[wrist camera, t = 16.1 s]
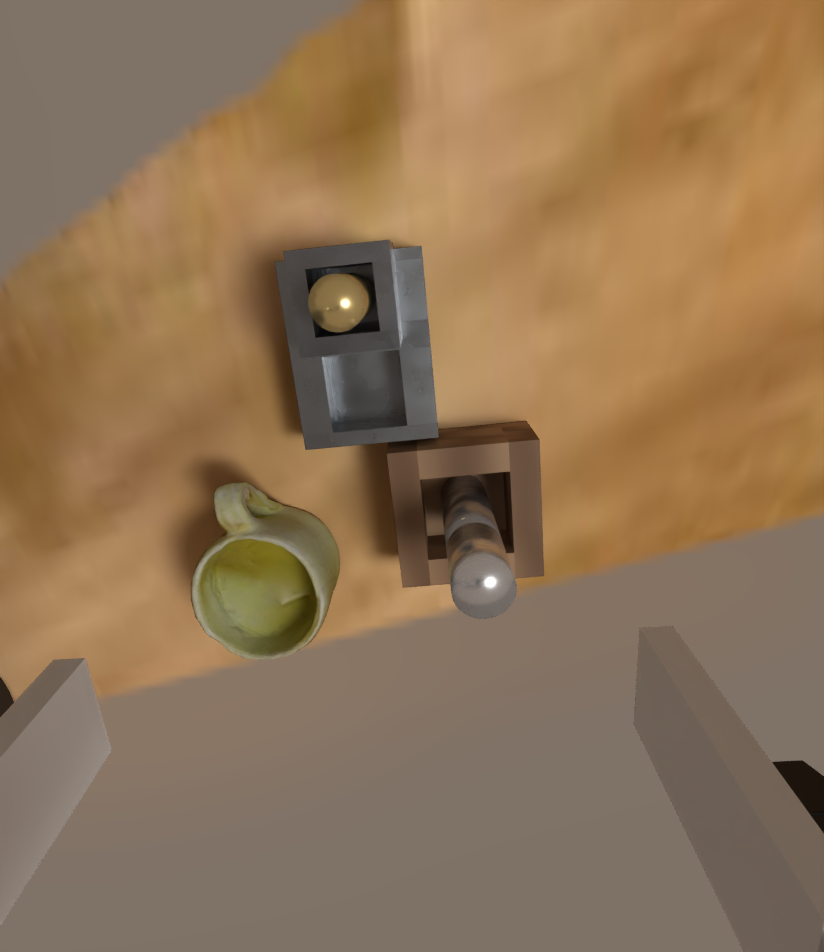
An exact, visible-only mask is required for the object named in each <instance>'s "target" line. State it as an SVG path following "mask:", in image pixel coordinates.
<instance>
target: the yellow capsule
mask: <svg viewBox="0 0 824 952" xmlns="http://www.w3.org/2000/svg"><path fill="white" fill-rule="evenodd" d="M374 301H375V294H374V290H373V287H372V285H371V284H370V282H369V281H368V280H367V279H366V278H365V277H363V276H361V275H359V274H356V273H341V274H329V275H326V276H324V277H322V278H320V279H319V280H318V281H317V282H316V283H315V284H314V285H313V287H312V289H311V291H310V294H309V300H308V304H309V310H310V313H311V315H312V317H313V319H314V320H315V322H316V323H317V324H318V325H319V326H321V327H322V328H324V329H326V330H328V331H331V332H344V331H347V330H350V329H351V328H353V327H354V326H355V325H357V324H358V323H359V322H360V321H361V320H362V319H363V318H365V317H366V316H367V315H368V314H369V313H370V312H371V310H372V308H373V305H374Z"/></svg>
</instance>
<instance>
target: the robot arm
mask: <svg viewBox="0 0 824 952" xmlns="http://www.w3.org/2000/svg"><path fill="white" fill-rule="evenodd" d="M634 726H635V728H636V730H637V732H638V734H639V736H640V738H641V740H642V742H643V744H644V746H645V749H646V751H647V753H648V755H649V757H650V759H651V761H652V763H653V765H654V767H655V769H656V771H657V773H658V776H659V778H660V779H661V782H662V784H663V786H664V788H665V790H666V792H667V794H668V796H669V798H670V800H671V802H672V805H673V806H674V809H675V811H676V813H677V815H678V817H679V819H680V821H681V823H682V825H683V827H684V829H685V831H686V833H687V836H688V837H689V840H690V842H691V844H692V846H693V848H694V850H695V852H696V854H697V856H698V858H699V860H700V862H701V864H702V867H703V869H704V871H705V873H706V875H707V877H708V879H709V881H710V883H711V885H712V887H713V889H714V892H715V894H716V896H717V898H718V900H719V902H720V904H721V906H722V908H723V910H724V912H725V914H726V916H727V919H728V920H729V923H730V925H731V927H732V929H733V931H734V933H735V935H736V937H737V939H738V941H739V943H740V945H741V948H742V949H743V952H824V776H823V775H821V774H820V773H818V772H817V771H816V770H815V769H813V768H812V767H811V766H809V765H808V764H806V763H805V762H804V761H782V762H771V760H770V759H769V758H768V756H767V755H766V753H765V752H764V751H763V749H762V748H761V746H760V745H759V744H758V742H757V741H756V740H755V738H754V737H753V735H752V734H751V733H750V731H749V730H748V729H747V727H746V726H745V724H744V723H743V722H742V720H741V719H740V718H739V716H738V715H737V713H736V712H735V711H734V709H733V708H732V707H731V705H730V704H729V702H728V701H727V700H726V698H725V697H724V696H723V694H722V693H721V691H720V690H719V689H718V687H717V686H716V685H715V683H714V682H713V680H712V679H711V678H710V676H709V675H708V674H707V672H706V671H705V669H704V668H703V667H702V665H701V664H700V663H699V661H698V660H697V658H696V657H695V656H694V654H693V653H692V651H691V650H690V649H689V647H688V646H687V645H686V643H685V642H684V640H683V639H682V638H681V636H680V635H679V634H678V632H677V631H676V629H674V627H673V626H663V627H662V626H661V627H643V628H640V631H639V647H638V662H637V678H636V692H635V707H634ZM111 751H112V749H111V746H110V742H109V739H108V735H107V732H106V729H105V725H104V722H103V718H102V715H101V711H100V708H99V704H98V701H97V697H96V694H95V690H94V687H93V683H92V680H91V676H90V673H89V669H88V666H87V663H86V659H85V658H79V659H60V660H53V661H52V662H51V663H50V664H49V665H48V667H47V668H46V669H45V670H44V671H43V672H42V673H41V674H40V675H39V676H38V677H37V678H36V679H35V681H34V682H33V683H32V684H31V685H30V686H29V687H28V688H27V689H26V690H25V691H24V692H23V693H22V695H21V696H20V697H19V698H18V699H17V700H16V701H15V702H14V703H13V700H12V698H11V695H10V693H9V691H8V689H7V688H6V686H5V685H4V683H3V682H2V680H1V679H0V926H1V924H2V923H3V921H4V919H5V918H6V916H7V915H8V913H9V912H10V910H11V909H12V907H13V905H14V904H15V902H16V900H17V899H18V897H19V896H20V894H21V893H22V891H23V890H24V888H25V886H26V885H27V883H28V882H29V880H30V878H31V877H32V875H33V874H34V872H35V871H36V869H37V867H38V866H39V864H40V862H41V861H42V860H43V858H44V856H45V855H46V853H47V852H48V850H49V848H50V847H51V845H52V844H53V842H54V840H55V839H56V837H57V836H58V834H59V833H60V831H61V830H62V828H63V826H64V825H65V823H66V822H67V820H68V818H69V817H70V815H71V814H72V812H73V811H74V809H75V807H76V806H77V804H78V803H79V801H80V799H81V798H82V796H83V795H84V793H85V792H86V790H87V788H88V787H89V785H90V784H91V782H92V781H93V779H94V777H95V776H96V774H97V773H98V771H99V769H100V768H101V766H102V765H103V763H104V762H105V760H106V758H107V757H108V755H109V754H110V752H111Z"/></svg>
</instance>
